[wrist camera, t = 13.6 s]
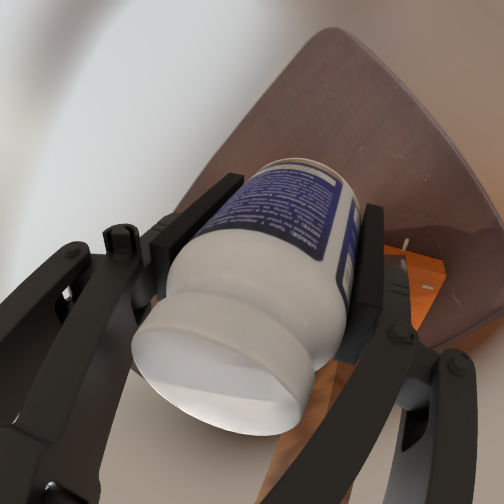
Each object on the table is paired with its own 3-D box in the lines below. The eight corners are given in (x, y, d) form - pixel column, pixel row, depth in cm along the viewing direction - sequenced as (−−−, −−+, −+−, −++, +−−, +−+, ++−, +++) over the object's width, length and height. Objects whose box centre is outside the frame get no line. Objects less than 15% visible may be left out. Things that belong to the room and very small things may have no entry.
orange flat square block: (452, 238, 31) (457, 253, 28) (413, 320, 39) (413, 337, 36) (354, 211, 34) (352, 224, 31) (329, 299, 41) (326, 315, 39)
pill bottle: (222, 204, 16) (90, 346, 9) (301, 128, 13) (172, 254, 5) (299, 281, 17) (228, 451, 9) (386, 225, 14) (374, 431, 6)
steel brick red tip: (383, 254, 32) (382, 306, 25) (405, 254, 31) (410, 308, 24) (380, 297, 35) (376, 352, 28) (400, 298, 34) (401, 353, 28)
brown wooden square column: (346, 309, 41) (255, 607, 12) (389, 349, 43) (332, 611, 14) (297, 338, 47) (197, 579, 18) (339, 371, 49) (268, 594, 20)
